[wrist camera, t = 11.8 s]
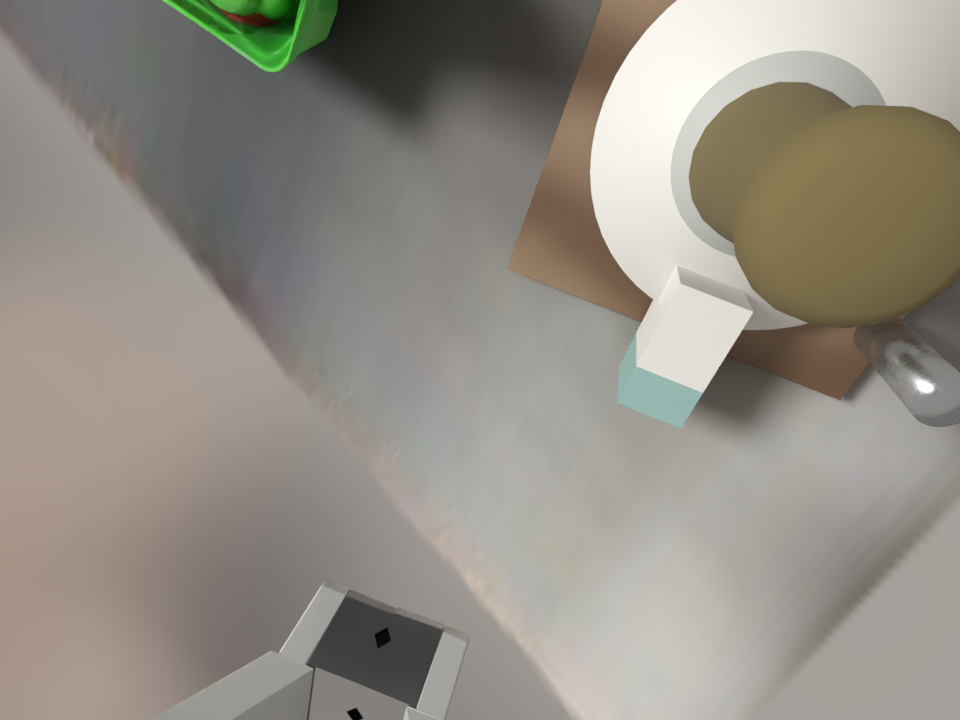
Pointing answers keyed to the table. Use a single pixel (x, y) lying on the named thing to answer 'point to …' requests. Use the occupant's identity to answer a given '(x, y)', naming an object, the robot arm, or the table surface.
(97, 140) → the table surface
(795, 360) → the wooden board
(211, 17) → the fruit basket
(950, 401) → the dowel
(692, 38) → the white oval plate
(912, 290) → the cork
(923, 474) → the table surface
